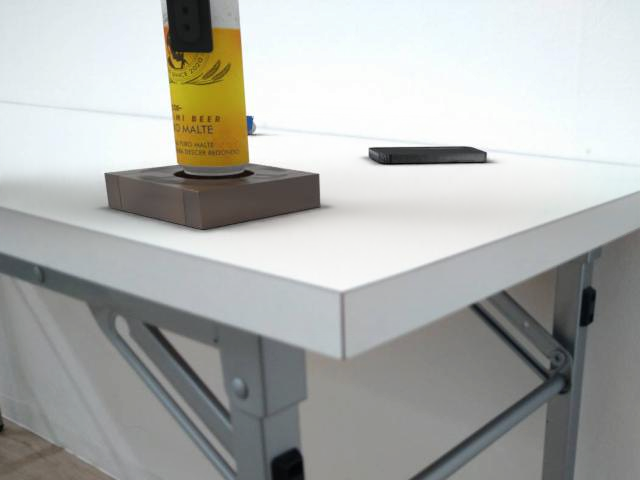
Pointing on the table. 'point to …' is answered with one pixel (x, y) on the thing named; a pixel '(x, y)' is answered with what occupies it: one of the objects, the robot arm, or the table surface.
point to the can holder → (212, 194)
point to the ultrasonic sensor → (250, 125)
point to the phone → (427, 154)
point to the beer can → (210, 98)
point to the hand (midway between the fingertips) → (203, 50)
